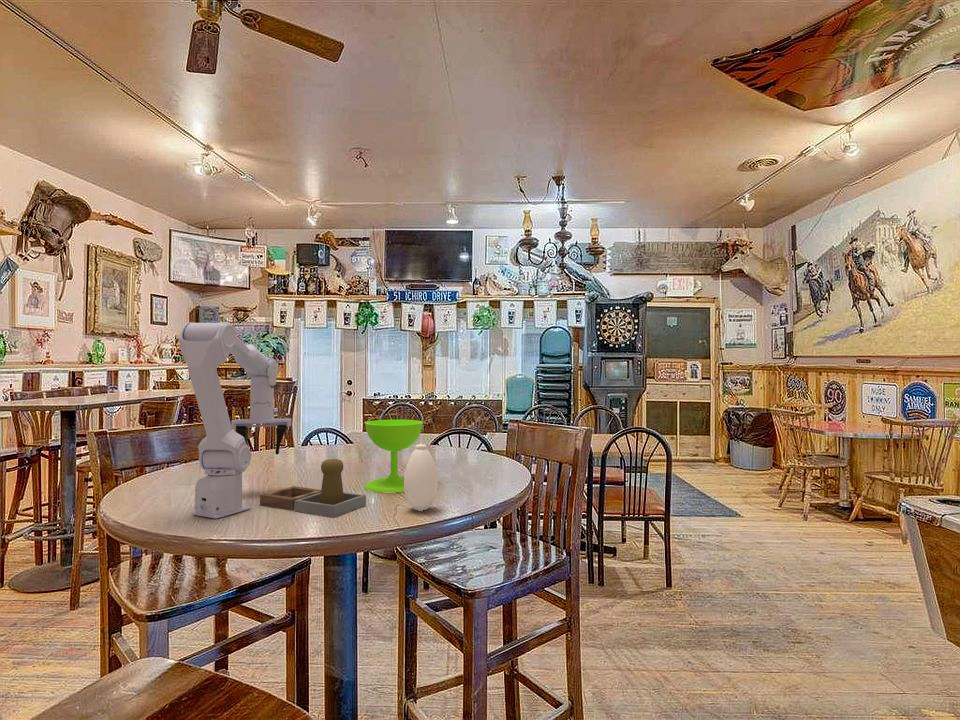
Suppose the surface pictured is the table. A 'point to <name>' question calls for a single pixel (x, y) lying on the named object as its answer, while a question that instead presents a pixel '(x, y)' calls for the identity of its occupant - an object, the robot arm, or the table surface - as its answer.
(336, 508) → the tray
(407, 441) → the wineglass
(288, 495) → the socket block
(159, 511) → the table surface
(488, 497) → the table surface
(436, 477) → the sauce bottle
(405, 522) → the table surface
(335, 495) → the cork
